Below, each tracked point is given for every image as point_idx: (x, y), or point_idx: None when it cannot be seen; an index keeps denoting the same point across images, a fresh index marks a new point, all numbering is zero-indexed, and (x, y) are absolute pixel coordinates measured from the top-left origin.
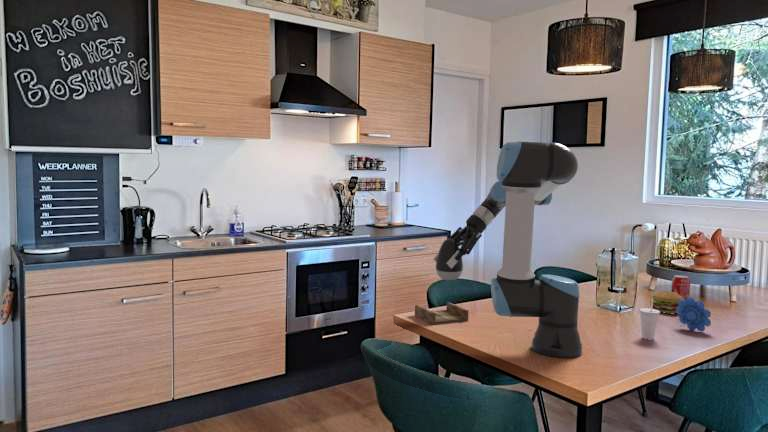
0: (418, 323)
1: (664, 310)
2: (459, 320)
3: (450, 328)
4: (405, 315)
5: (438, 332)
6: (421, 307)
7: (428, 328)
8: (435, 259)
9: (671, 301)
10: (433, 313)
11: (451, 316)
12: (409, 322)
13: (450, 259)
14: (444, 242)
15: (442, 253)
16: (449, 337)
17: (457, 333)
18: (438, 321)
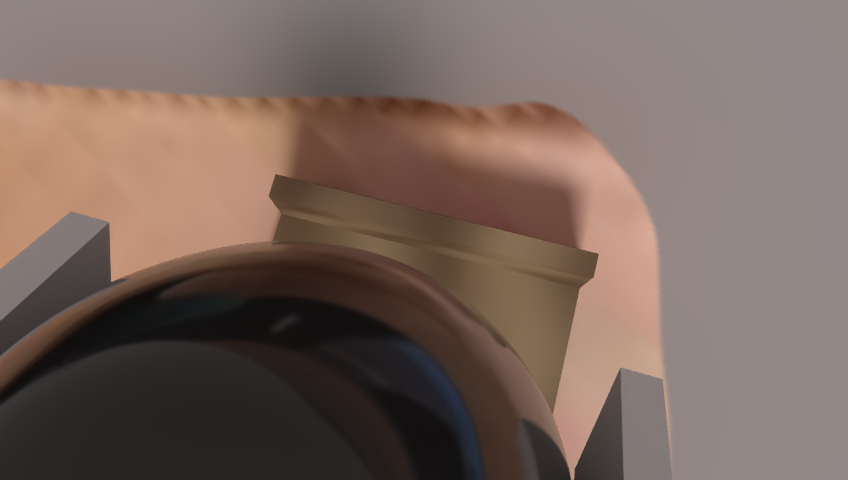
0: (386, 141)
1: None
2: None
3: (145, 242)
4: (621, 210)
5: (133, 103)
6: (500, 244)
7: (246, 113)
8: (610, 404)
9: None
10: (286, 188)
11: None
12: (444, 105)
13: (13, 274)
14: (221, 339)
15: (244, 247)
16: (7, 83)
17: (29, 193)
18: None
